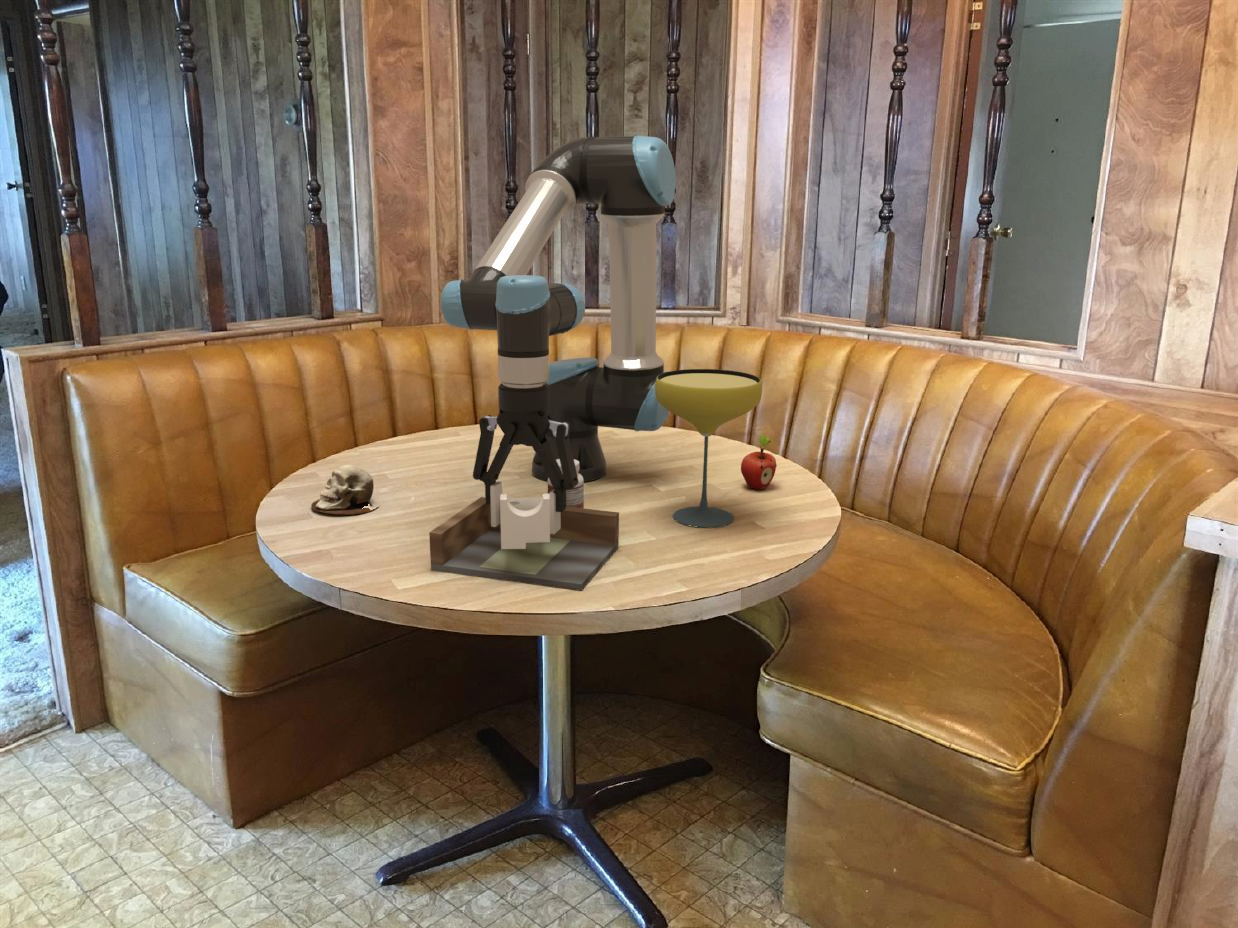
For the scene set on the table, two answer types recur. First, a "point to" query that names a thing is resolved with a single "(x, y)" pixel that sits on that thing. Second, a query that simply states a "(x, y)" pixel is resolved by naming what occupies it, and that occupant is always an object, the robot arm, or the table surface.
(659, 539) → the table surface
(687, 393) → the cocktail glass
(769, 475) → the apple
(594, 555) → the tray
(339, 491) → the skull
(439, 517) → the table surface
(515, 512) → the bracket
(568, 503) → the pill bottle
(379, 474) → the table surface
